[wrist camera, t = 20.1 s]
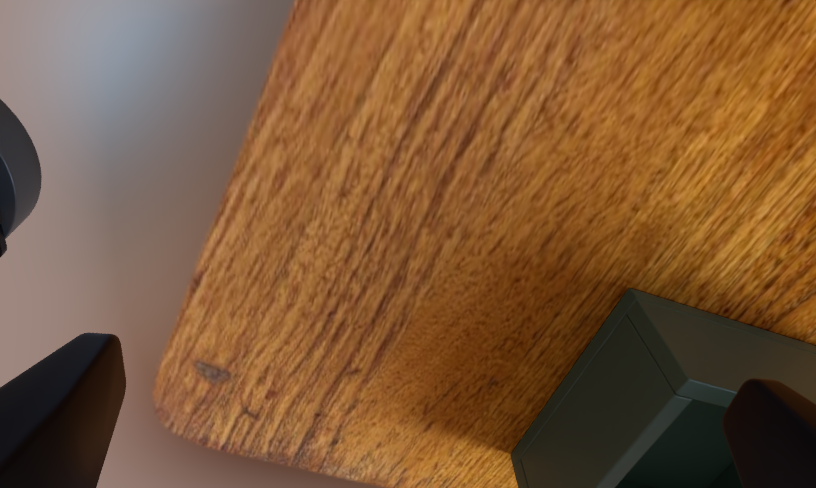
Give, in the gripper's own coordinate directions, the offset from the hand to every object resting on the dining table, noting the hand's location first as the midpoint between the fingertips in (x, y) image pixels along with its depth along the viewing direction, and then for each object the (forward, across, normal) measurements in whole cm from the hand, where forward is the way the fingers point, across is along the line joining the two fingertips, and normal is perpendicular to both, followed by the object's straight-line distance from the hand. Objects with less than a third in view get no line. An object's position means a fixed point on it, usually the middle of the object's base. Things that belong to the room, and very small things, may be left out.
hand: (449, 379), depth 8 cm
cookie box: (+13, -15, +14) cm, 24 cm away
